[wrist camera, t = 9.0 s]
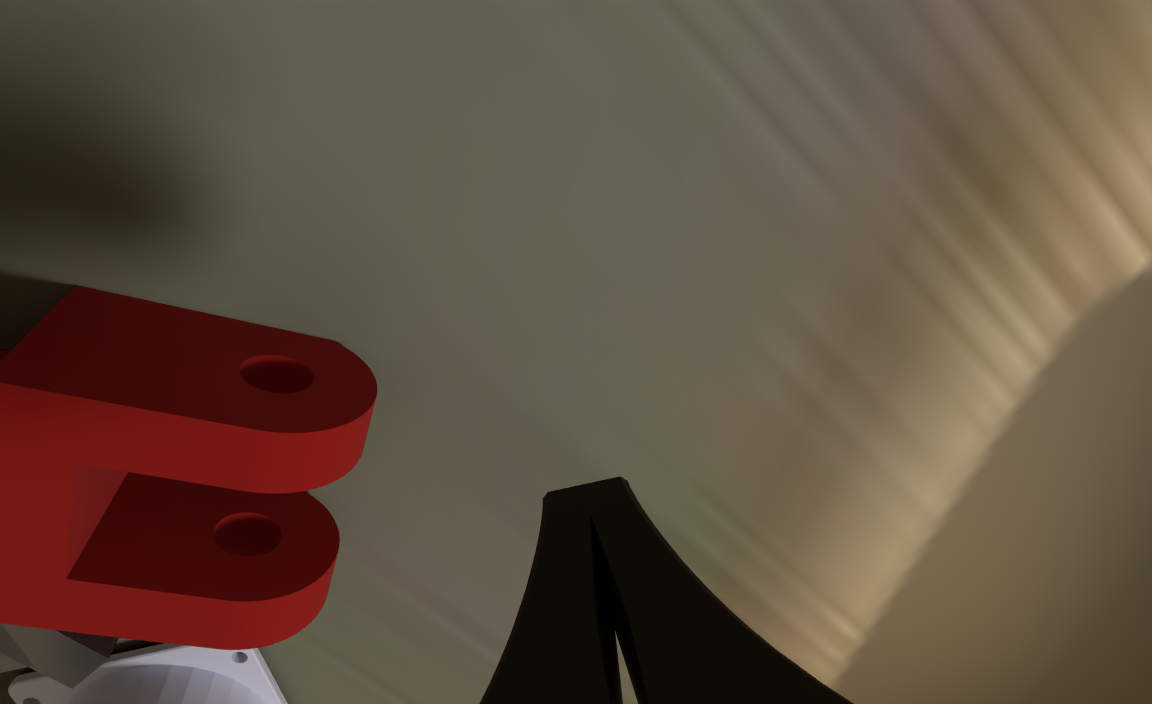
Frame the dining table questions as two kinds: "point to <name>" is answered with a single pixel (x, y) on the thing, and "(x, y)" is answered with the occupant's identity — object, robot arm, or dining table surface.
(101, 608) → the mechanical linkage
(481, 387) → the dining table surface
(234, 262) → the dining table surface
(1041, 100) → the dining table surface
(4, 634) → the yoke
